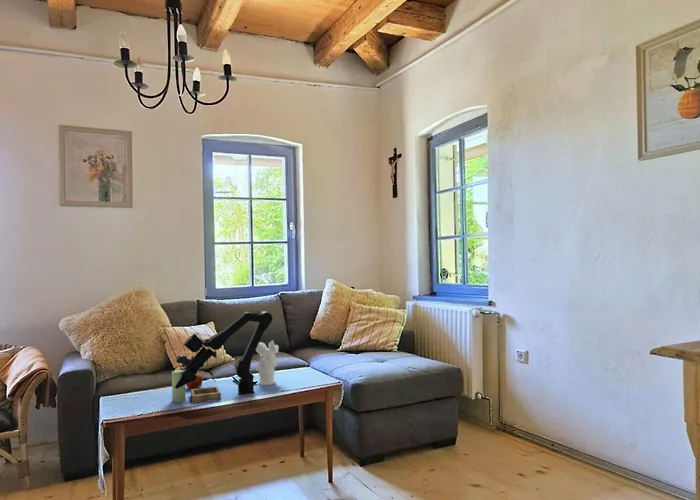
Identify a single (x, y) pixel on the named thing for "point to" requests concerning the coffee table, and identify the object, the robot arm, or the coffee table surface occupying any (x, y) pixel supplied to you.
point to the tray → (205, 394)
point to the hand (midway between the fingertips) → (175, 386)
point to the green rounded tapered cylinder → (178, 393)
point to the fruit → (195, 382)
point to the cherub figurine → (267, 362)
